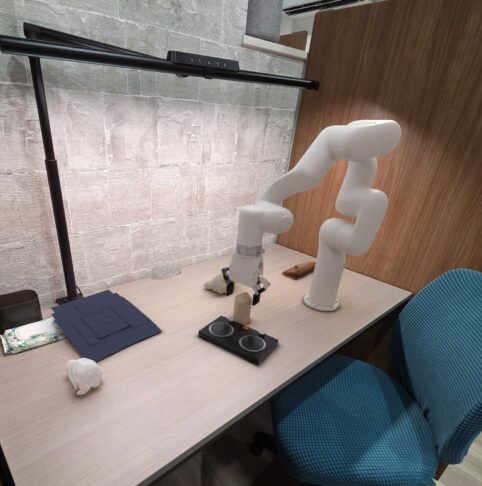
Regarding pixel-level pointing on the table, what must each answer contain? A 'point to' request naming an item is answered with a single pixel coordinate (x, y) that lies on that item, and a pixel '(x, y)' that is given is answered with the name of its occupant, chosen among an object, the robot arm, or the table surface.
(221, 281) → the cream lumpy piece
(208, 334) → the hot plate
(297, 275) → the sunglasses case
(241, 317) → the candle
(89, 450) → the table surface
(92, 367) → the crumpled paper
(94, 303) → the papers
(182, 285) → the table surface
